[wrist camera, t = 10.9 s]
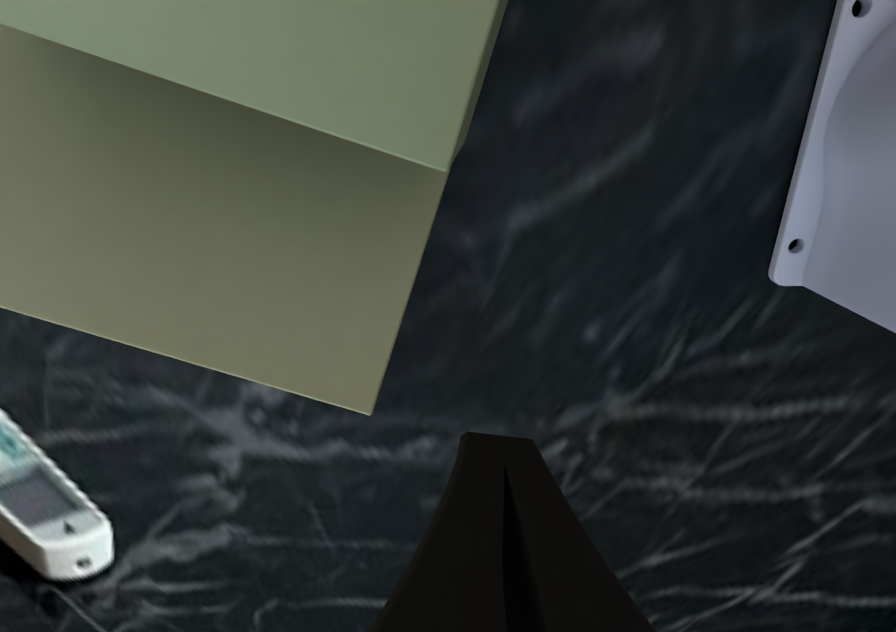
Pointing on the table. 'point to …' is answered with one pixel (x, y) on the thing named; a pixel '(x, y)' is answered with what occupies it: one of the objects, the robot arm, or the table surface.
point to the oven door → (203, 225)
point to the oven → (302, 59)
